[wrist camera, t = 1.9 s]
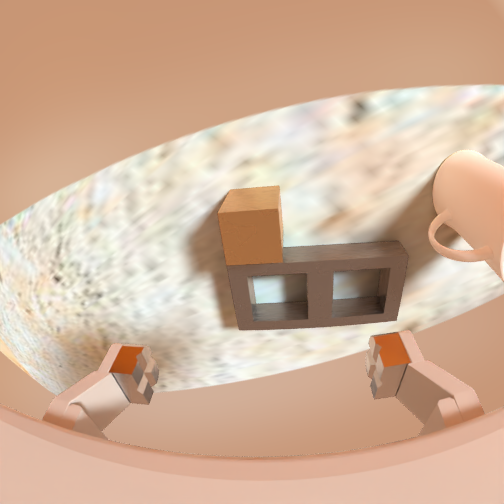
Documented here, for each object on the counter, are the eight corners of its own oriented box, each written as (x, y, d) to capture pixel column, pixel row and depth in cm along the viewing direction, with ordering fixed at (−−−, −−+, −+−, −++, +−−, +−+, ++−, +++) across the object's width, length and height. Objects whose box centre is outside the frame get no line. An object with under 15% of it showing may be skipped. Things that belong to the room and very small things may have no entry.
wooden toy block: (279, 185, 27) (278, 208, 22) (283, 230, 29) (282, 262, 24) (230, 189, 28) (217, 213, 22) (236, 233, 30) (226, 265, 25)
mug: (408, 244, 28) (458, 320, 18) (396, 165, 25) (461, 213, 14) (494, 217, 25) (558, 274, 15) (490, 143, 22) (570, 179, 11)
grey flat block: (398, 240, 28) (408, 255, 26) (389, 303, 32) (396, 320, 29) (231, 250, 31) (226, 265, 28) (242, 312, 34) (239, 330, 32)
